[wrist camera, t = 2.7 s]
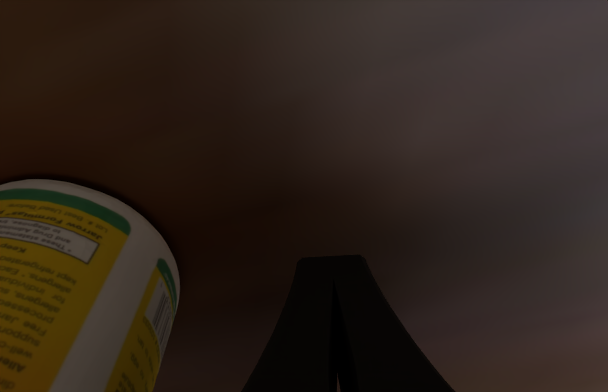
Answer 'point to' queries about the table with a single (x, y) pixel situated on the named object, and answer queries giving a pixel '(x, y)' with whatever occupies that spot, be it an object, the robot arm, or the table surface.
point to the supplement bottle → (81, 291)
